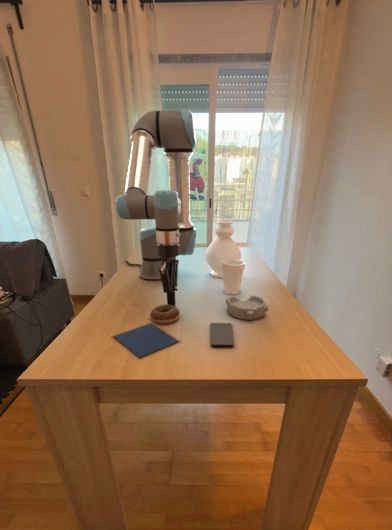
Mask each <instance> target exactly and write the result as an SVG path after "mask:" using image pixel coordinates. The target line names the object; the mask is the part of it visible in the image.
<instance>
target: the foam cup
mask: <svg viewBox="0 0 392 530" xmlns="http://www.w3.org/2000/svg"><path fill="white" fill-rule="evenodd" d="M245 267H246V261H244V260H241V259H240V260H237V259H228V260H224V261H223V262H222V268H223V278H222V280H223V291H224V293H225V294H227V295H238V294H239V293H240V288H241V283H242V279H243V275H244V270H245Z"/></svg>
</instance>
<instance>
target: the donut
mask: <svg viewBox="0 0 392 530" xmlns="http://www.w3.org/2000/svg"><path fill="white" fill-rule="evenodd" d="M149 315H150V319H151V320H152V321H153V322H155V323H158V324H169V323H174V322H175V321H177V320H178V319H179V318H180V310H179V308H178V307H177V306H176V307H175V306H173V305H168V304H167V303H166V304H160V305H158V306H155V307H154V308H152V309H151V310H150V313H149Z"/></svg>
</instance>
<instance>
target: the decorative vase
mask: <svg viewBox="0 0 392 530" xmlns="http://www.w3.org/2000/svg"><path fill="white" fill-rule="evenodd" d="M216 224H217V226H216V227H215V228H214V230H213V231H214V234H215V235H216V237H215V238H214V239H213V240H212V241H211V242H210V244H209V245H208V247H207V249H206V251H205V255H204V257H205V261H206V263H207V265H208V266H209V267H210V268H211V270H210V272H209V274H210V276H212V277H214V278H215V277H216V278H219V279H221V278H222V279H223V268H222V262H223V261H224V260H228V259H237V260H241V259H242V253H241V250H240V247H239V246H238V243H236V241H235V240H234V239H233V238H232V237H231V236H232V235H234V233H235V228H234V227H233V226H232V224H233V220H229V219H226V220H225V219H222V220H216Z"/></svg>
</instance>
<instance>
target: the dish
mask: <svg viewBox="0 0 392 530" xmlns="http://www.w3.org/2000/svg"><path fill="white" fill-rule="evenodd" d="M225 303H226V305H227V307H226V309H227V312H228V314H229V315H231V316H232V317H234V318H237V319H242V320H256V319H257V320H258V319H260V318H262V317H263V316H265V315H266V312H268V311H269V305H268V304H267V301H266V300H265V298H262V297H260V296H257V295H251V296H250V297H249V298H248V299H246V300H240V299H239V298H237V297H236V295H231V296H230V297H227V298H225Z"/></svg>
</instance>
